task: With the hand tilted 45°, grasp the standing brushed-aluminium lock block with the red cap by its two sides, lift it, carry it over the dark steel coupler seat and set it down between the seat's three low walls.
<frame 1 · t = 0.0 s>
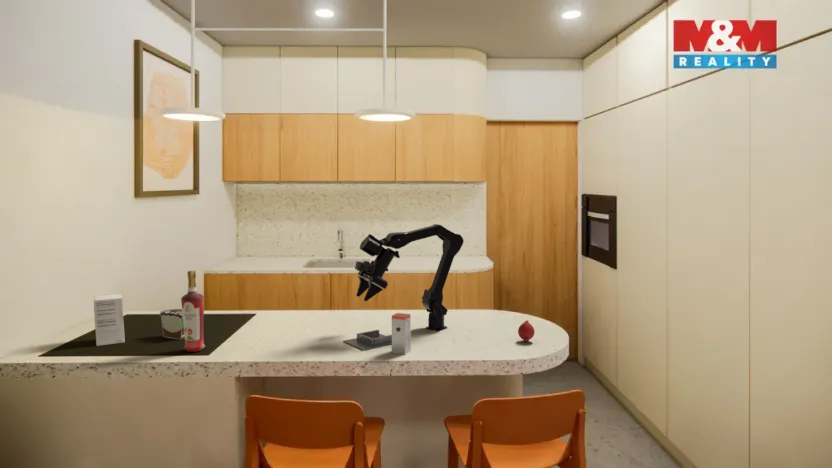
hand: (361, 298, 205), 15 cm above the countertop, fingers open, 9 cm apart
onion: (526, 342, 200), on the countertop
coupler seat: (376, 341, 201), on the countertop
liquor: (194, 350, 191), on the countertop
supplement box: (110, 341, 203), on the countertop
food container: (178, 336, 209), on the countertop
lock block: (401, 352, 188), on the countertop
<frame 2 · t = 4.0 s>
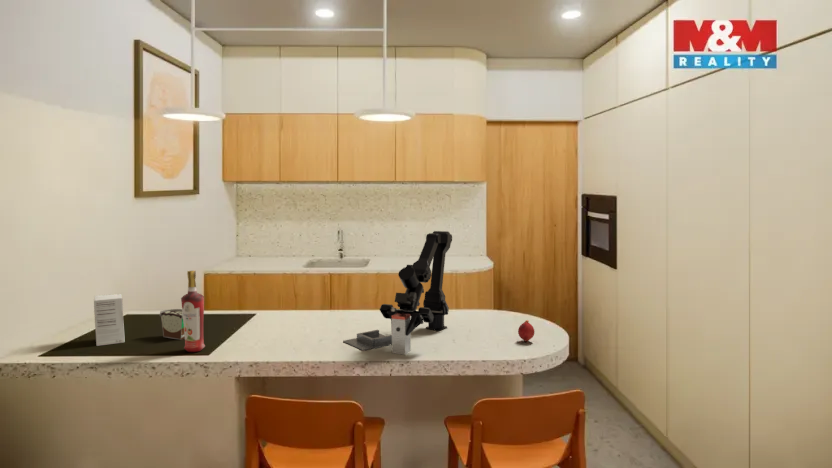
hand: (399, 334, 186), 7 cm above the countertop, fingers closed on lock block, 5 cm apart
lock block: (401, 351, 188), on the countertop, touching gripper
everything else where it was.
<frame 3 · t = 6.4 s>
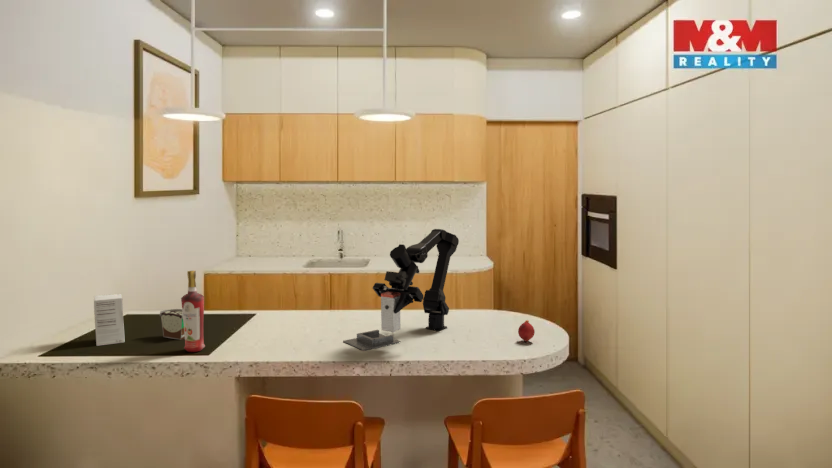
hand: (388, 312, 189), 13 cm above the countertop, fingers closed on lock block, 5 cm apart
lock block: (391, 329, 191), point 7 cm above the countertop, touching gripper
everything else where it was.
when the fingers open (8 cm above the countertop, at t = 8.8 s): lock block drops 1 cm, resting on coupler seat.
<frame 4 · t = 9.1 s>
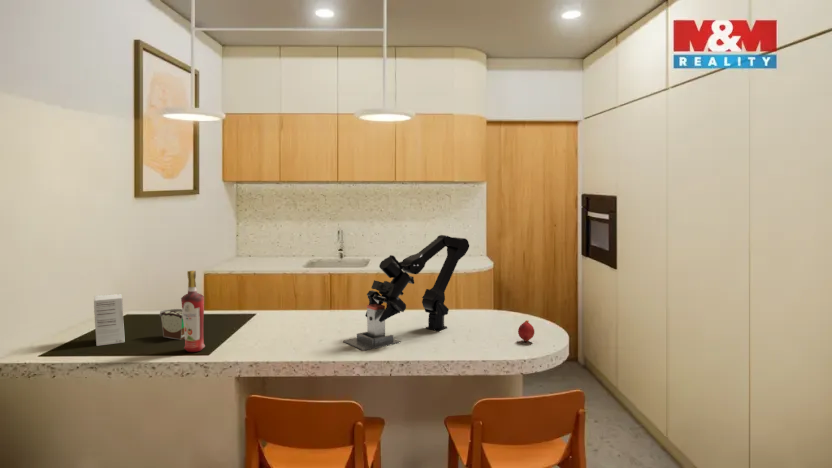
hand: (372, 319, 200), 9 cm above the countertop, fingers open, 9 cm apart
lock block: (376, 340, 201), resting on coupler seat
everything else where it was.
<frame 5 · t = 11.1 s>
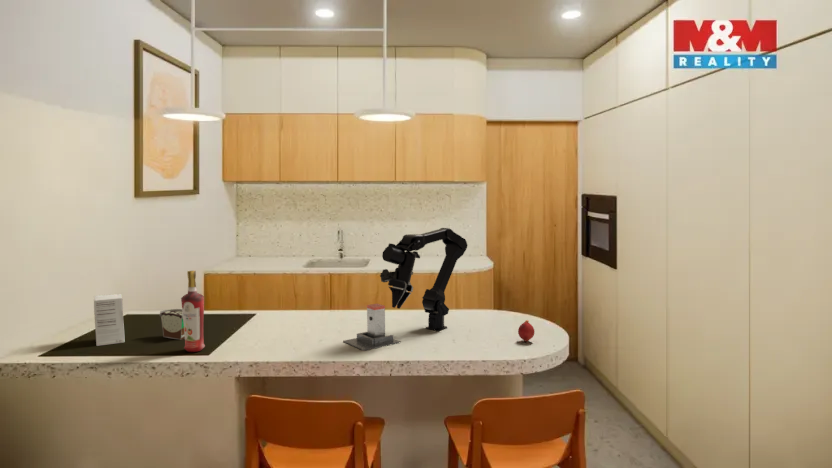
hand: (395, 308, 203), 12 cm above the countertop, fingers open, 9 cm apart
nothing on the countertop moved.
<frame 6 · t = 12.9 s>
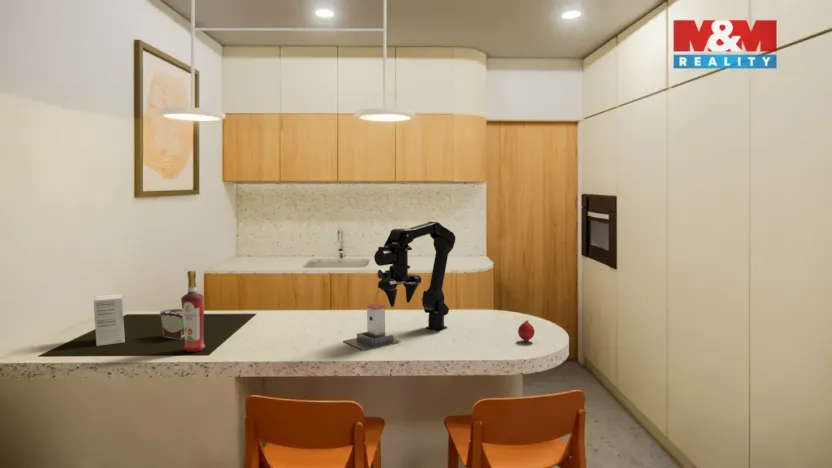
hand: (400, 304, 203), 13 cm above the countertop, fingers open, 9 cm apart
nothing on the countertop moved.
at the end: lock block inside the target area on the coupler seat (0.0 cm from its centre), point 0.4 cm above the coupler seat's base; lock block tilted 0°; the gripper is holding nothing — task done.
